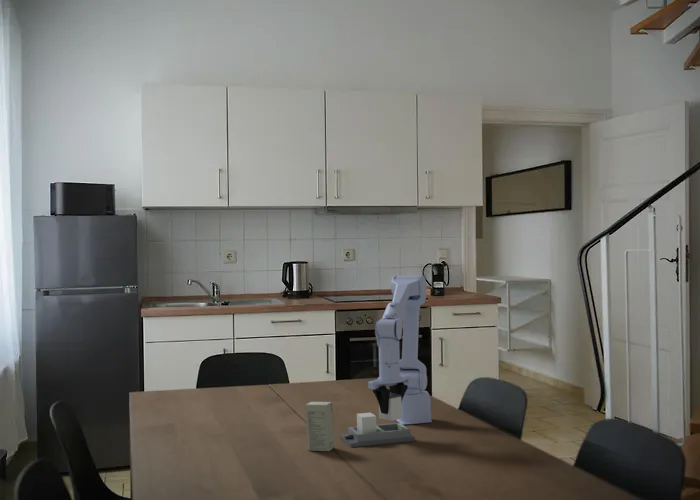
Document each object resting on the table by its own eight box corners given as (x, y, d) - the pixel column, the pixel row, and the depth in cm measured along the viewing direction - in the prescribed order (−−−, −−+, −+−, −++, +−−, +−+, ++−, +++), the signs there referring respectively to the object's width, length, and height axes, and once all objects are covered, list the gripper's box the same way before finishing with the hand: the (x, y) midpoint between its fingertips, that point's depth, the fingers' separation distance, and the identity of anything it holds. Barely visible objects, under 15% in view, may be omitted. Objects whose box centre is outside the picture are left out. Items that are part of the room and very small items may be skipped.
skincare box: (335, 447, 200) (333, 401, 200) (329, 452, 196) (328, 404, 196) (312, 446, 202) (311, 400, 202) (306, 450, 198) (304, 403, 198)
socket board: (402, 432, 214) (401, 407, 214) (414, 440, 205) (414, 415, 205) (340, 438, 209) (339, 413, 209) (350, 447, 200) (349, 420, 200)
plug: (389, 415, 212) (388, 392, 212) (401, 418, 208) (401, 394, 208) (378, 418, 209) (378, 394, 209) (391, 420, 205) (390, 396, 205)
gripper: (398, 358, 216) (399, 406, 216) (360, 364, 207) (361, 414, 207) (415, 360, 211) (417, 409, 211) (377, 366, 201) (378, 417, 201)
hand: (390, 412), depth 208 cm, fingers closed on plug, 4 cm apart
